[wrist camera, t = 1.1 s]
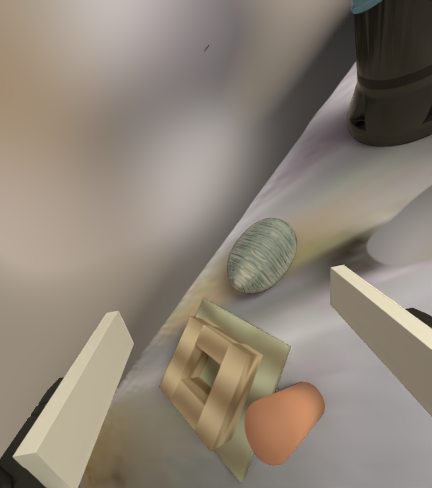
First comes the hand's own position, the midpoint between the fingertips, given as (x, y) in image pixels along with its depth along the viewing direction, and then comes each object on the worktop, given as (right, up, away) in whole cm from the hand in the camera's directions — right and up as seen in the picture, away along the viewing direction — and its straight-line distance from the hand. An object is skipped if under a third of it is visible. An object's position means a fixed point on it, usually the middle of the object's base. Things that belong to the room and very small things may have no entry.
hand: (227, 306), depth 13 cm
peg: (+11, -16, +14) cm, 24 cm away
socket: (0, -17, +22) cm, 28 cm away
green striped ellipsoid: (+9, 0, +25) cm, 26 cm away
